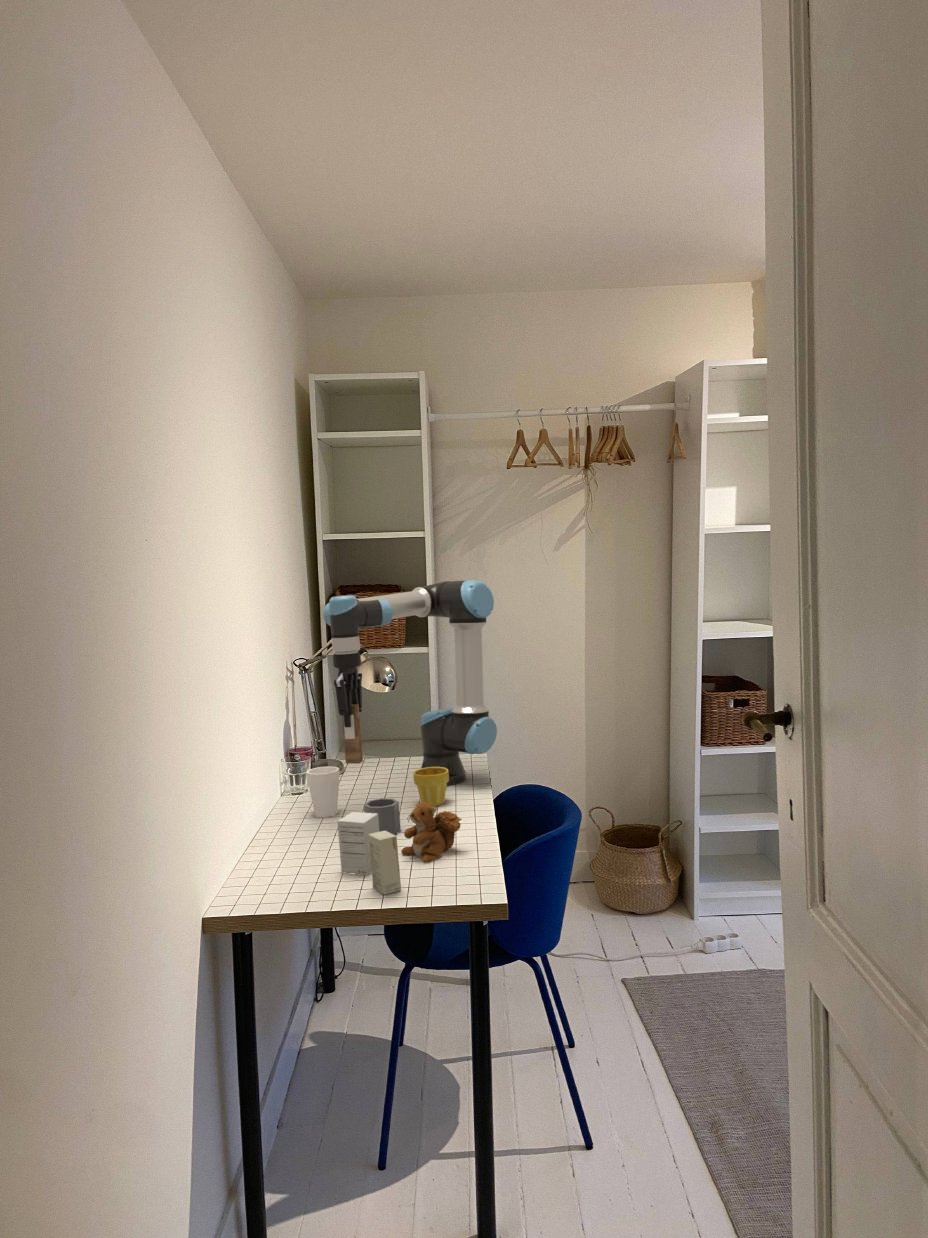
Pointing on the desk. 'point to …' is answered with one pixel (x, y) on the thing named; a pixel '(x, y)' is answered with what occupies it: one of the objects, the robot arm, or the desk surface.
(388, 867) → the skincare box
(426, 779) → the plant pot
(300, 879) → the desk surface
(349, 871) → the supplement box
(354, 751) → the tan wooden beam
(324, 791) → the foam cup
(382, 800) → the jar
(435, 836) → the stuffed squirrel
